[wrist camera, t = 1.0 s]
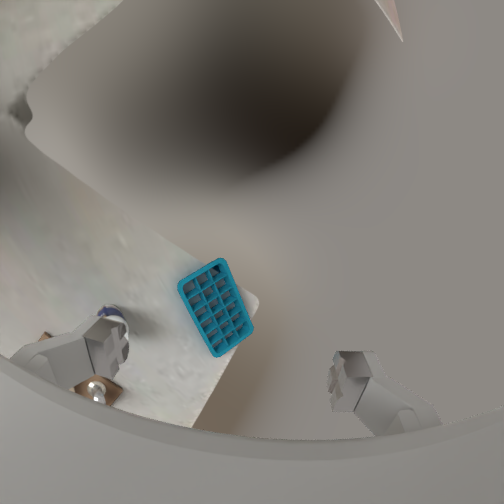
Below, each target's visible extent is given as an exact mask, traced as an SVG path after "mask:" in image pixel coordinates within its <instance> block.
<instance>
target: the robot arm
mask: <svg viewBox="0 0 504 504" xmlns="http://www.w3.org/2000/svg"><path fill="white" fill-rule="evenodd" d="M126 332H127V331H126V325H125V324H124V323H123V322H119V321H115V320H112V319H108V318H104V317H100V316H97V315H90V316H89V317H88V318H87V319H86V320H85V321H84V322H83V323H82V324H81V325H80V326H79V327H78V328H77V329H75V330H74V331H73V332H72V333H65V334H62V335H59V336H55V337H52V338H49V339H45V340H42V341H38V342H35V343H32V344H28V345H25V346H23V347H22V348H21V349H20V350H19V351H18V352H17V353H15V354H14V355H13V356H12V357H11V358H10V359H8V358H6V357H5V356H3V355H1V354H0V504H504V406H501V407H499V408H496V409H494V410H491V411H488V412H485V413H482V414H479V415H476V416H473V417H470V418H466V419H463V420H459V421H456V422H452V423H448V424H444V425H443V424H442V422H441V420H440V418H439V416H438V414H437V412H436V410H435V408H434V406H433V405H432V404H430V403H429V402H427V401H426V400H424V399H423V398H421V397H420V396H418V395H417V394H415V393H414V392H412V391H411V390H409V389H408V388H406V387H404V386H403V385H401V384H400V383H399V382H397V381H395V380H394V379H393V378H391V377H386V375H385V373H384V370H383V368H382V367H381V364H380V362H379V360H378V358H377V356H376V354H375V352H374V351H336V353H335V354H334V357H333V362H334V365H333V366H332V367H331V368H330V370H329V373H328V379H327V388H328V392H330V393H331V394H332V395H331V398H330V403H331V408H332V412H354V414H355V415H356V416H357V417H358V418H359V419H360V420H361V421H362V423H363V424H364V425H365V426H366V427H367V428H368V429H369V430H370V431H371V432H372V433H373V434H374V435H375V437H366V438H354V439H338V440H337V439H336V440H287V439H286V440H285V439H268V438H255V437H246V436H238V435H230V434H222V433H216V432H210V431H203V430H198V429H193V428H188V427H183V426H179V425H174V424H170V423H166V422H162V421H158V420H154V419H150V418H146V417H143V416H139V415H136V414H133V413H129V412H126V411H123V410H120V409H117V408H114V407H111V406H108V405H105V404H102V403H100V402H97V401H94V400H92V399H89V398H87V397H84V396H82V395H79V394H77V393H75V392H72V391H70V390H68V389H70V388H72V387H74V386H76V385H78V384H79V383H81V382H83V381H85V380H87V379H89V378H90V377H92V376H94V375H95V374H96V375H99V376H102V377H106V378H109V379H113V378H114V376H115V375H116V374H117V372H118V371H119V364H122V363H124V362H125V360H126V359H127V356H128V353H129V343H128V340H127V339H126V337H125V336H124V335H125V334H126Z"/></svg>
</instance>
